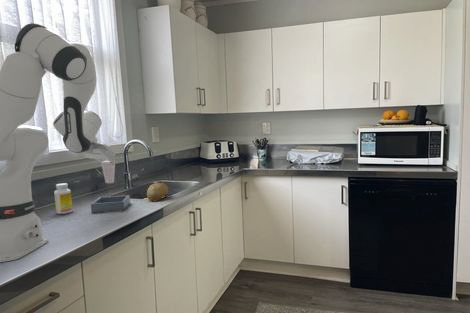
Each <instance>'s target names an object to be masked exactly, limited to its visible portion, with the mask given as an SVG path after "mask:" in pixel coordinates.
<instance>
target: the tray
mask: <svg viewBox="0 0 470 313" xmlns="http://www.w3.org/2000/svg"><path fill="white" fill-rule="evenodd" d="M130 198H131V196H130V195H129V194H128V195H126V194H125V195H113V196H99V197H98V198H96V199H95V200H94V201H93V202H91V203H90V209H91V210H90V211H91V214H96V213H99V214H100V213H110V212H123V211H126V209H127V208H128V207H129V205H130V204H131V199H130Z"/></svg>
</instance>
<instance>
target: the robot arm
mask: <svg viewBox="0 0 470 313" xmlns="http://www.w3.org/2000/svg"><path fill="white" fill-rule="evenodd" d="M14 51H15V52H10V53H9V54H7V56H5V59H4V61H3V62H2V65H1V68H0V162H4V161H5V166H4V167H3V169H2V170H1V171H0V263H5V262H11V261H14V260H18V259H21V258H23V257H24V256H26V255H28V254H30V253H31V252H33V251H35V250H37V249H38V248H40V247H42V246H43V245H46V244H47V243H48V242H49V241H48V240H49V239H48V238H46V237H44V233H43V228H42V223H41V222H42V221H41V218H40V217H39V216H38V215H37V214H36V213H35V211H36V209H35V208H36V207H35V200H34V199H33V196H32V173H33V170H34V167H35V164H36V163H37V161H38V160H39V158H40V157H41V156H42V155H43V154H44V153H45V152H46V151H47V149H48V148H49V147H48V146H49V137H48V135H47V133H46V131H45V130H44V129H43V128H41V127H39V126H33V125H26V124H25V123H27V122H29V121H30V120H31V119H32V118H33V117H34V116H35V112H36V109H37V104H38V101H39V97H40V94H41V88H42V81H43V77H44V76H45V75H46V74H47V73H48V72H49V73H51V74H53V75H54V76H55V77H57V78H59V79H61V80H62V85H63V86H62V87H63V111H62V112H60V113H59V114H58V115H57V116H56V118H55V119H54V120H53V123H52V126H53V127H54V129H55V130H56V131H57V132H58V133H59V135H61V136H62V141H63V144H64V146H65V147H66V149H67V150H69V151H70V152H72V153H75V154H81V155H82V156H83V157H85V158H86V159H92V160H94V159H95V160H96V161H98V162H100V163H101V162H103V161H106V160H107V161H110V163H111V164H115V165H116V163H117V161H116V160H115V159H114V158H115V156H116V154H117V153H116V151H114V150H113V149H112V148H111V147H110V146H109V145H107V144H106V143H103V142H98V141H99V139H98V137H96V136H97V134H98V132H99V131H100V129H101V126H102V123H103V122H102V119H101V117H100V116H99V115H98V114H97V113H95V112H93V111H92V110H86V108H87V106H88V104H89V102H90V100H91V98H92V97H93V95H94V94H95V90H96V87H97V71H96V65H95V62H94V58H93V54H92V53H91V50H90V49H89V48H88V46H86V45H84V44H83V43H80V42H69V41H68V40H66V39H65V38H64V37H63V36H62V35H60V34H58V33H56V32H54V31H52V30H50V29H49V28H48V27H46V26H44V25H42V24H38V23H33V22H32V23H28V24H26V25H24V26H22V27H21V28H20V30H19V31H18V33H17V36H16V38H15V42H14ZM24 124H25V125H24Z"/></svg>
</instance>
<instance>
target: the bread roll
mask: <svg viewBox="0 0 470 313" xmlns="http://www.w3.org/2000/svg"><path fill="white" fill-rule="evenodd" d="M168 194H169V186H168V185H167V183H165V182H156V183H153V184H150V185H149V187H148V188H147V192H146V197H147V199H148V200H149V201H150V202H156V201H160V200H161V199H163V198H165V197H166V196H167V195H168Z"/></svg>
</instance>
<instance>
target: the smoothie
mask: <svg viewBox="0 0 470 313" xmlns="http://www.w3.org/2000/svg"><path fill="white" fill-rule="evenodd" d="M105 160H106V159H105ZM100 165H101V169H102V173H103V178H104V182H105V184H114V183H115V172H116V163H115V164H111V163H110V161H109V160H106V161H103V162H100Z"/></svg>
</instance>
